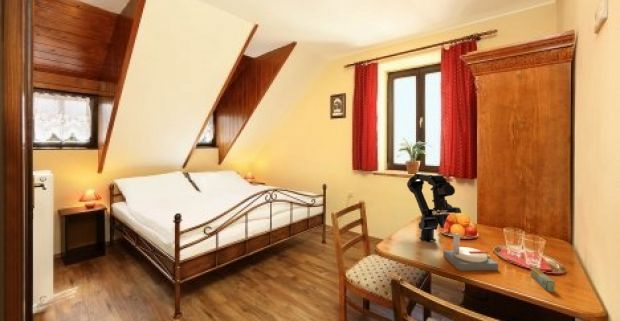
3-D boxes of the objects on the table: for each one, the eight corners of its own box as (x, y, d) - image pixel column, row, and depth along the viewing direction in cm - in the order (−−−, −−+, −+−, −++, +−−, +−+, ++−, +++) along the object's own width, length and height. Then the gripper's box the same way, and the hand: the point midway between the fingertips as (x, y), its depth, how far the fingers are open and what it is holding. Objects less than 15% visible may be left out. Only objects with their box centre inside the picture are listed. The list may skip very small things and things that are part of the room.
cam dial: (477, 249, 139) (478, 228, 138) (497, 262, 125) (498, 238, 124) (445, 250, 138) (445, 229, 137) (462, 263, 124) (463, 239, 123)
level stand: (477, 255, 139) (478, 247, 139) (498, 270, 124) (498, 260, 124) (443, 256, 139) (443, 247, 139) (459, 270, 124) (460, 261, 124)
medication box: (554, 292, 106) (555, 282, 106) (546, 291, 107) (547, 281, 107) (537, 277, 118) (538, 268, 118) (530, 276, 119) (530, 267, 118)
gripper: (464, 197, 146) (468, 228, 142) (431, 200, 161) (434, 228, 157) (453, 195, 140) (457, 228, 136) (420, 199, 154) (422, 228, 151)
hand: (442, 228), depth 145 cm, fingers closed
